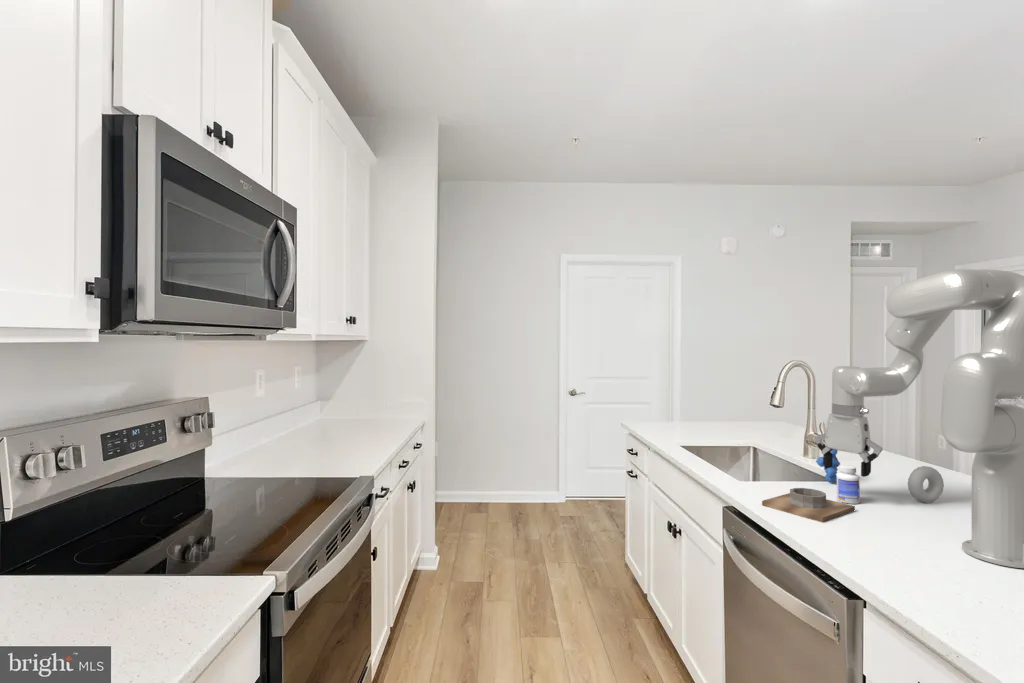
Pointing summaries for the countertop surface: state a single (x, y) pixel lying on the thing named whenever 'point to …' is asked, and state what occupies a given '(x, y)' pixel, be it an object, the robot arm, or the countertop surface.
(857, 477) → the pill bottle
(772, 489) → the countertop surface
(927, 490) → the donut
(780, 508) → the base
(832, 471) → the grapes
